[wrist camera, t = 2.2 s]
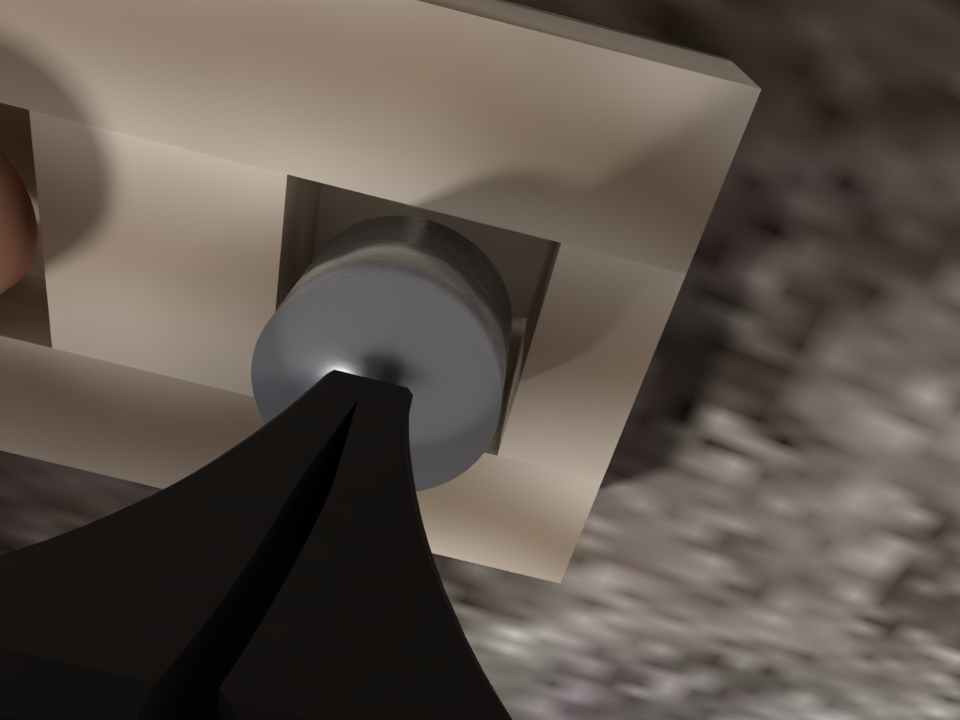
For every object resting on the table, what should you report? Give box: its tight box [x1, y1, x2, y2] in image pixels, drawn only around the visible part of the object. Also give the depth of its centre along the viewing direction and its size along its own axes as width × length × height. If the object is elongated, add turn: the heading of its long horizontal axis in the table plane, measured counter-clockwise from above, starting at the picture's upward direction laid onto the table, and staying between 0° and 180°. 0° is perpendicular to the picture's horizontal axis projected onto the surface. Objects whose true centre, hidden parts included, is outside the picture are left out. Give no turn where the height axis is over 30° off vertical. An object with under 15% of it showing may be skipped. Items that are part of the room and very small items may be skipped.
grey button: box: [251, 216, 512, 492], centre depth 14 cm, size 4×4×3 cm
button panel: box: [0, 0, 761, 583], centre depth 16 cm, size 12×20×3 cm, turn 77°
